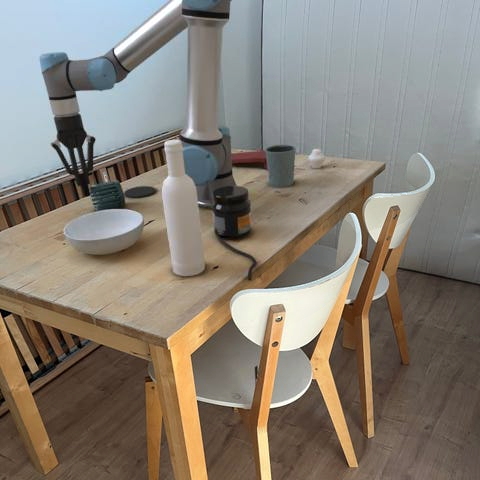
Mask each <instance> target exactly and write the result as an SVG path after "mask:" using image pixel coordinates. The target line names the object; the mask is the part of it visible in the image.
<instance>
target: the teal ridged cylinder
mask: <svg viewBox="0 0 480 480" xmlns="http://www.w3.org/2000/svg"><path fill="white" fill-rule="evenodd" d="M88 191H89V197H90V200H91V202H92V206H93V208H94V210H95V212H97V211H102V210H110V209H119V208H123V207H125V206H126V198H125V197H126V196H125V194H124V193H125V192H124V190H123V187H122V184H121V183H120V181H119V180H118V179H116V180H112V181H111V180H110V181H106V182H101V183H96V184H92V185H90V186H89V187H88Z"/></svg>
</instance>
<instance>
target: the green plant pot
mask: <svg viewBox="0 0 480 480" xmlns="http://www.w3.org/2000/svg"><path fill="white" fill-rule="evenodd" d="M296 149H297V148H296V146H294V145H292V144H275V145H271V146H267V147H266V148H265V149H264V150H265V152H266V160H267V169H266V170H267V174H268V184H269V186H271V187H274V188H287V187H291V186H293V185H294V182H295V167H296V165H295V160H296V151H297V150H296Z"/></svg>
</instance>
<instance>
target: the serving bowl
mask: <svg viewBox="0 0 480 480" xmlns="http://www.w3.org/2000/svg"><path fill="white" fill-rule="evenodd" d="M144 227H145V218H144V216H143V214H141V213H140V212H138V211H136V210H133V209H125V208H114V209H110V210H102V211H93V212H89V213H86V214H83V215H80V216H78V217H75V218H74V219H72V220H70V221H69V222H67V224H66V225H65V226H64V227H63V231H62V232H63V235H64V237H65V239H66V241H67V242H68V244H69V245H70V246H71V247H72V248H74V249H75V250H76V251H78V252H81V253H83V254H87V255H95V256H96V255H101V256H102V255H108V254H109V255H110V254H113V253H117V252H121V251H123V250H126V249H128V248H130V247H131V246H133V245H134V244H136V243H137V241H138V240H139V239H140V237H141V236H142V234H143V233H144Z"/></svg>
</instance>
